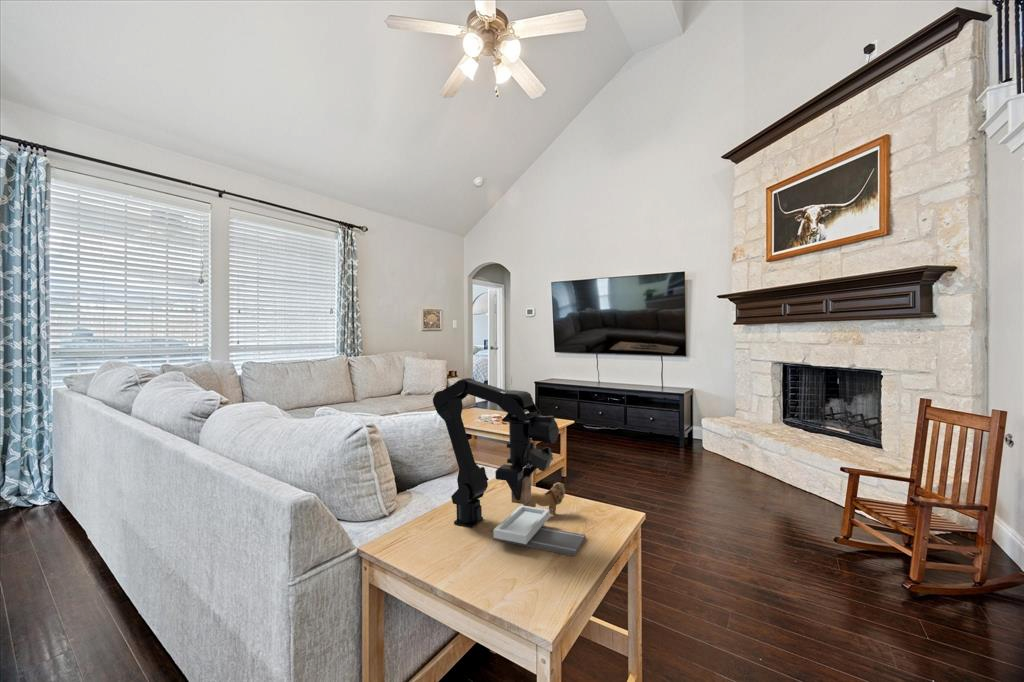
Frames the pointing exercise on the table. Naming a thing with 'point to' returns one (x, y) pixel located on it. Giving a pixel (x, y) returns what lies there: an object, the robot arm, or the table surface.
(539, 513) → the white rimmed tray
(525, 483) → the brown wooden block
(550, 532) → the track mat
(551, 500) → the lion figurine
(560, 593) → the table surface
